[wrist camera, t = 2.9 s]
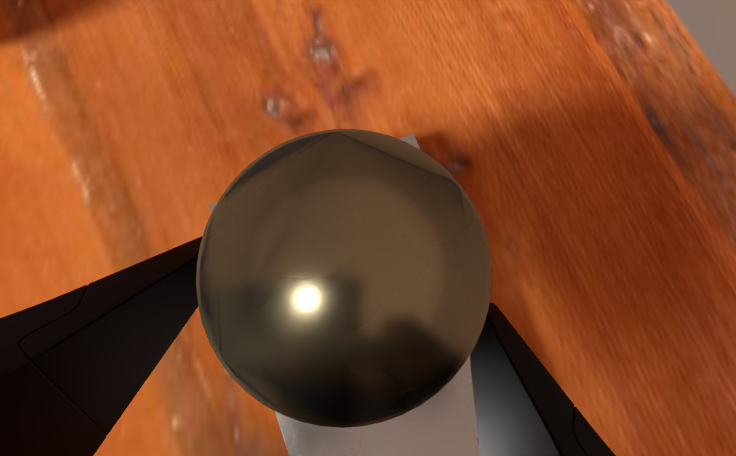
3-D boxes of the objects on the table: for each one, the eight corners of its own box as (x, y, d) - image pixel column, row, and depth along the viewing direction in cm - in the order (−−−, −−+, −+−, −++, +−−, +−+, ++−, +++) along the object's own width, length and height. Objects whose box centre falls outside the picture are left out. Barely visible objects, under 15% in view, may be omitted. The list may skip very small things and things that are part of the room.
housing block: (330, 510, 16) (324, 566, 13) (233, 215, 18) (208, 205, 15) (517, 422, 17) (551, 455, 14) (404, 154, 19) (413, 133, 16)
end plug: (328, 324, 17) (250, 482, 4) (300, 246, 18) (159, 183, 5) (406, 293, 18) (539, 353, 5) (376, 217, 18) (424, 94, 6)
